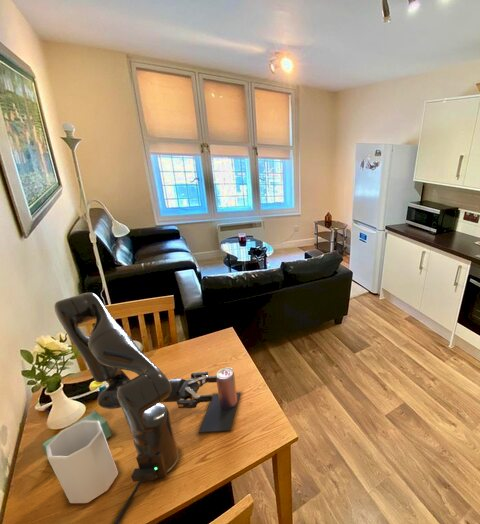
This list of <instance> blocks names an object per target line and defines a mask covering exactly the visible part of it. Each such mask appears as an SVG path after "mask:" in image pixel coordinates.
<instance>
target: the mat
mask: <svg viewBox="0 0 480 524" xmlns="http://www.w3.org/2000/svg"><path fill="white" fill-rule="evenodd" d="M236 395H237V403H236V404H235V406H234V407H232V408H230V409H223V408H221V406H220V401H219V394H218V393H212V401H209V405H208V408H207V410H206V413H205V415H204V418H203V421H202V424H201V426H200V429H199V434H206V433H208V434H209V433H223V432H231V430H232V427H233V422H234V419H235V415H236V411H237V407H238V403H239V400H240V396H241V392H236Z"/></svg>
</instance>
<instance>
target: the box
mask: <svg viewBox="0 0 480 524" xmlns="http://www.w3.org/2000/svg"><path fill="white" fill-rule="evenodd" d="M80 421H99V422H100V425H101V428H102V430H103V433H104V436H105V438H106V440H107V439H109V438H110V437H112V436H113V432H112V430H111V428H110V425H109V423H108V421H107V419H106V418H105V417H103V415H101V414H100V413H98V411H97V410H94V411H92V412H91V413H89V414H87V415H85V416H84V417H82V418H80V419H79V420H78V421H76V422H74V423H73V424H71V425H69V426H68V427H70V426H72V425H74V424H76V423H78V422H80ZM56 435H57V434H55V435H53V436H51V438H49V439H47V440H46V441H44V442H43V443H42V445H41V448H42V451H43V454H44V455H45V457H46V458H47V451H46V446H47V445H48V444H49V443H50V442H51V441H52V440H53V439H54V438H55V437H56Z"/></svg>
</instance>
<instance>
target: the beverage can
mask: <svg viewBox="0 0 480 524" xmlns="http://www.w3.org/2000/svg"><path fill="white" fill-rule="evenodd" d="M215 376H216V380H217V382H216V385H217V394H219V401H220V406H221V408H223V409H230V408H232V407H234V406H235V404H236V403H237V395H236V393H237V388H236V376H235V371H234V369H233V368H232V367H228V366H226V367H223V368H221V369H219V370H218V371H217V372H216V375H215Z"/></svg>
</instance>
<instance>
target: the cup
mask: <svg viewBox="0 0 480 524" xmlns="http://www.w3.org/2000/svg"><path fill="white" fill-rule="evenodd" d="M75 423H76V422H75ZM73 424H74V423H73ZM73 424H71V425H72V426H71V425H69V426H70V427H69V426H68V427H66V428H63V429H61V430H60V431H59V432H58V433H57V434H55V435H56V437H55V438H54V439H53V440H52V441H51V442H50V443H49V444H48V445H47V446H46V451H47V457H46V458H47V461H48V462H49V464H50V467H51V468H52V470H53V472H54V474H55V476H56V478H57V480H58V482H59V484H60V486H61V488H62V491H63V492H64V494H65V496H66V498H67V500H68V502H69V504H88V503H90V502H91V501H93V500H95V499H96V498H98V497H99V496H101V495H103V494H104V493H106V492H107V491H108V490H110V489H109V488H111V486H112V484H113V483H114V481H115V479H116V478H117V477H118V475H119V471H118V469H117V465H116V461H115V460H114V457H113V455H112V451H111V449H110V446H109V444H108V441H107V439H106V438H105V436H104V433H103V430H102V428H101V425H100V422H99V421H80V422H78V423H76V424H74V425H73Z"/></svg>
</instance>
